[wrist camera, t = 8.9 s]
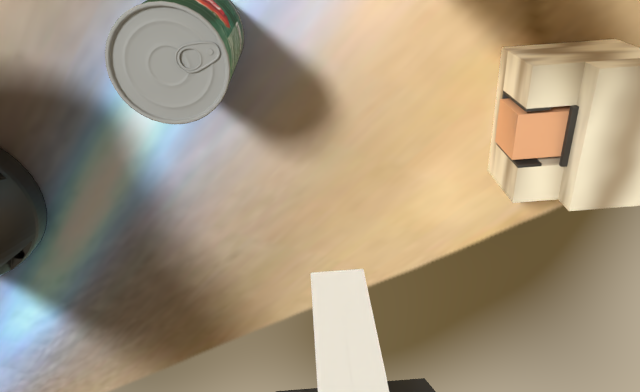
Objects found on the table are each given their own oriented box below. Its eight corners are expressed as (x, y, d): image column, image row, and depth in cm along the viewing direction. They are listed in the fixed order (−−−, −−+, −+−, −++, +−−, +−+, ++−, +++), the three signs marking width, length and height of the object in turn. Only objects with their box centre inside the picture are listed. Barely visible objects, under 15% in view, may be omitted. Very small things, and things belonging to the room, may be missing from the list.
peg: (495, 141, 45) (511, 159, 42) (500, 99, 43) (518, 114, 40) (603, 133, 45) (629, 151, 42) (613, 90, 43) (641, 105, 40)
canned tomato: (174, 91, 44) (140, 139, 34) (131, 1, 40) (79, 26, 30) (258, 62, 43) (248, 103, 33) (222, -33, 39) (198, -18, 29)
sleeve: (487, 170, 49) (521, 214, 42) (501, 47, 43) (544, 73, 36) (587, 163, 49) (639, 205, 42) (615, 38, 43) (681, 62, 36)
